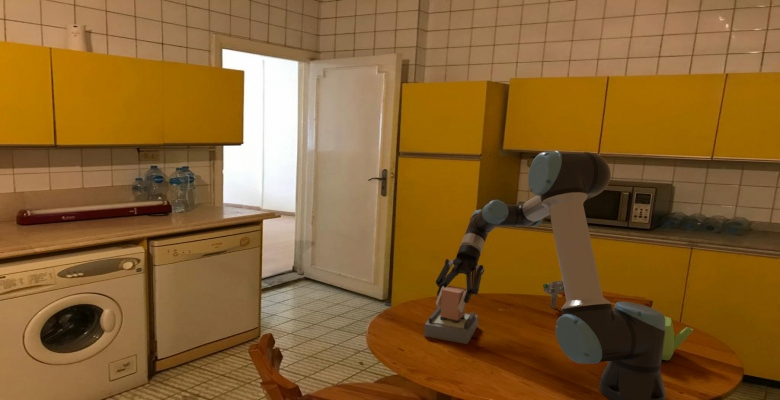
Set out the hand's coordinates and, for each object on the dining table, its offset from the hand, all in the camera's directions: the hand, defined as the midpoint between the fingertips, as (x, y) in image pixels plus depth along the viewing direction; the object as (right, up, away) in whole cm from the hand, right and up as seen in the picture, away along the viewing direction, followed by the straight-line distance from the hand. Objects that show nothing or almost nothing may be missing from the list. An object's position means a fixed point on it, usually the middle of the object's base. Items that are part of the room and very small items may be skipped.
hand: (448, 307), depth 162 cm
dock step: (+1, -9, +4) cm, 10 cm away
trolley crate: (+2, -4, +4) cm, 6 cm away
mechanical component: (+44, -7, +32) cm, 55 cm away
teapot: (+62, -13, -8) cm, 64 cm away
